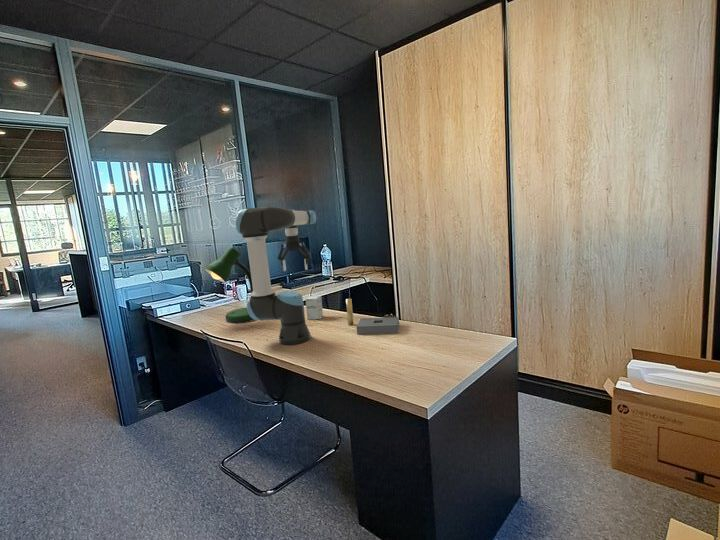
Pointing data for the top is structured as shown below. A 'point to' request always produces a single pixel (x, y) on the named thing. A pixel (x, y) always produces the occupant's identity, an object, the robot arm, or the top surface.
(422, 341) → the top surface
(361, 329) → the bore block
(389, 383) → the top surface
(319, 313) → the supplement box
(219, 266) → the desk lamp
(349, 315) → the brass pin
